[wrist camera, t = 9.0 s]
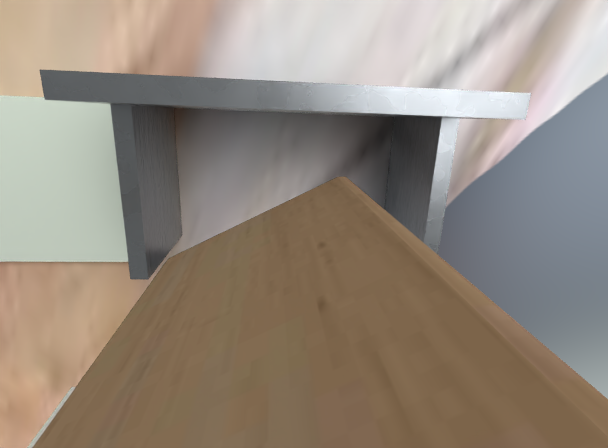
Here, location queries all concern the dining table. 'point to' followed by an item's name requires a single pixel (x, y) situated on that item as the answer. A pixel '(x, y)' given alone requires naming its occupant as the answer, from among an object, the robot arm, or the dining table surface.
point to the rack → (272, 98)
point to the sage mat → (59, 182)
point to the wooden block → (324, 348)
